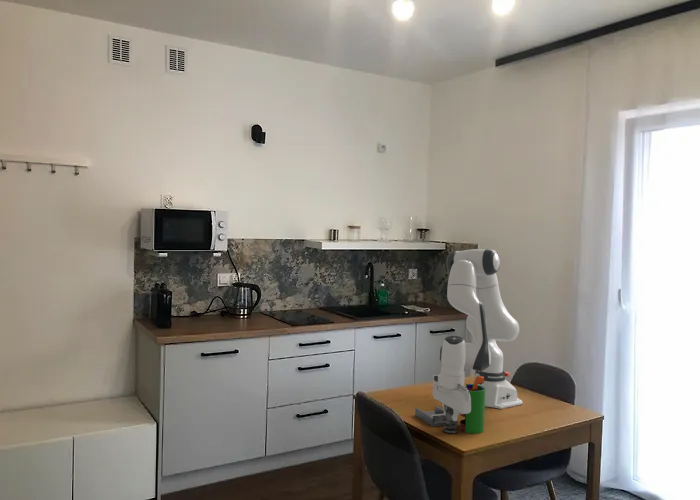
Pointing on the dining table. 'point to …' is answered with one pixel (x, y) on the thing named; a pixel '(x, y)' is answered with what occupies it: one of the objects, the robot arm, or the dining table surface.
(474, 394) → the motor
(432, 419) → the grey open frame
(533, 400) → the dining table surface
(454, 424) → the grey tall turned piece
